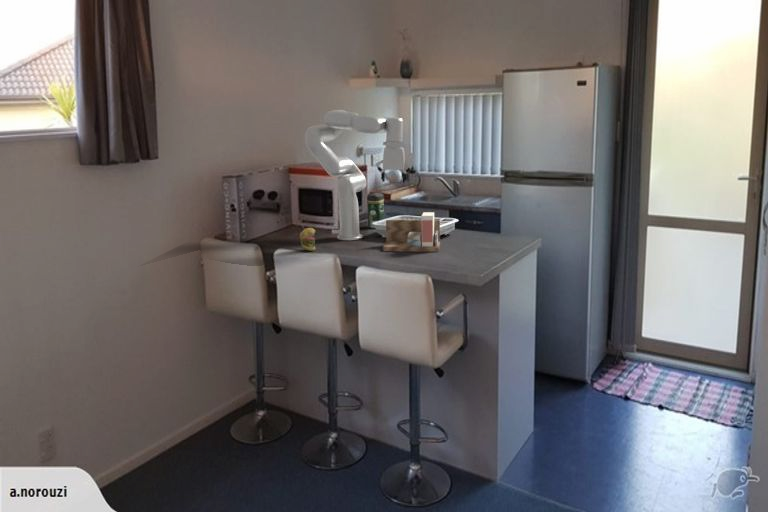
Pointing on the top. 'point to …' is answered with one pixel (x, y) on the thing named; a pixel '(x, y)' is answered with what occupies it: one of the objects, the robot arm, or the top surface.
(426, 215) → the boxed book
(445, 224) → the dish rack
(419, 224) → the shelf
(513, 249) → the top surface
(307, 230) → the hamburger
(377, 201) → the coffee jar
